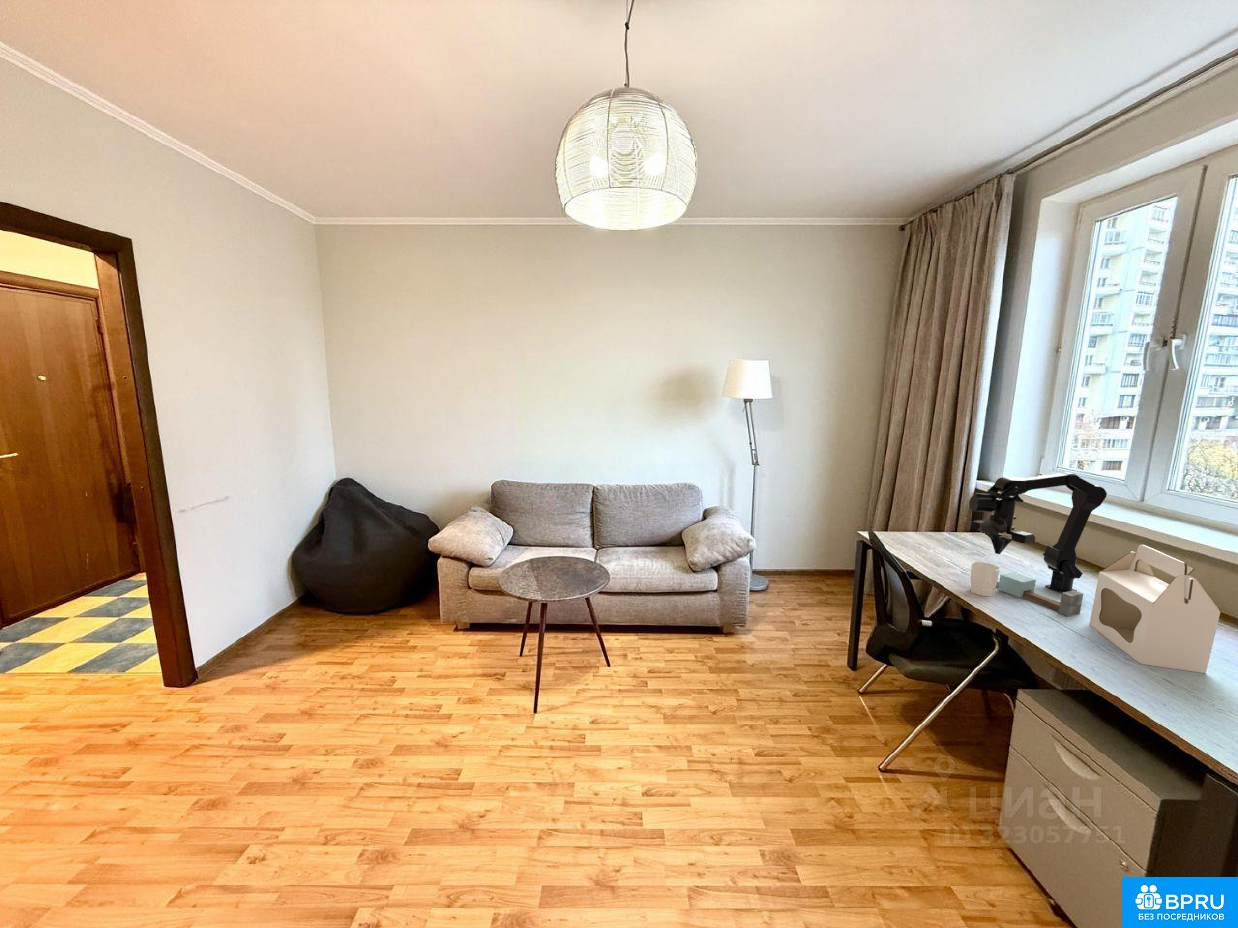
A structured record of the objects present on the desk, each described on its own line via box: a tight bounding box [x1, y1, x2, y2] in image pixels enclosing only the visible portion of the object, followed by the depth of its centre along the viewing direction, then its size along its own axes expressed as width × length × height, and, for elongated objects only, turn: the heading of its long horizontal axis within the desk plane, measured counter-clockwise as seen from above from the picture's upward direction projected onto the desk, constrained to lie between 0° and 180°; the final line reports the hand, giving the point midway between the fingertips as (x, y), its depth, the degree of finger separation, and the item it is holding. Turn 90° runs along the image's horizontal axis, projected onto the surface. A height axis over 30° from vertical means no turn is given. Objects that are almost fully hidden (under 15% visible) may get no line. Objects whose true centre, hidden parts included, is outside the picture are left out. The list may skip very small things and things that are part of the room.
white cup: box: [969, 561, 1001, 597], centre depth 166 cm, size 8×8×10 cm
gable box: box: [1089, 544, 1221, 674], centre depth 130 cm, size 22×13×28 cm, turn 162°
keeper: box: [997, 571, 1037, 598], centre depth 166 cm, size 7×7×6 cm
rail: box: [996, 581, 1084, 618], centre depth 160 cm, size 6×22×7 cm, turn 18°
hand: (997, 553), depth 171 cm, fingers closed
